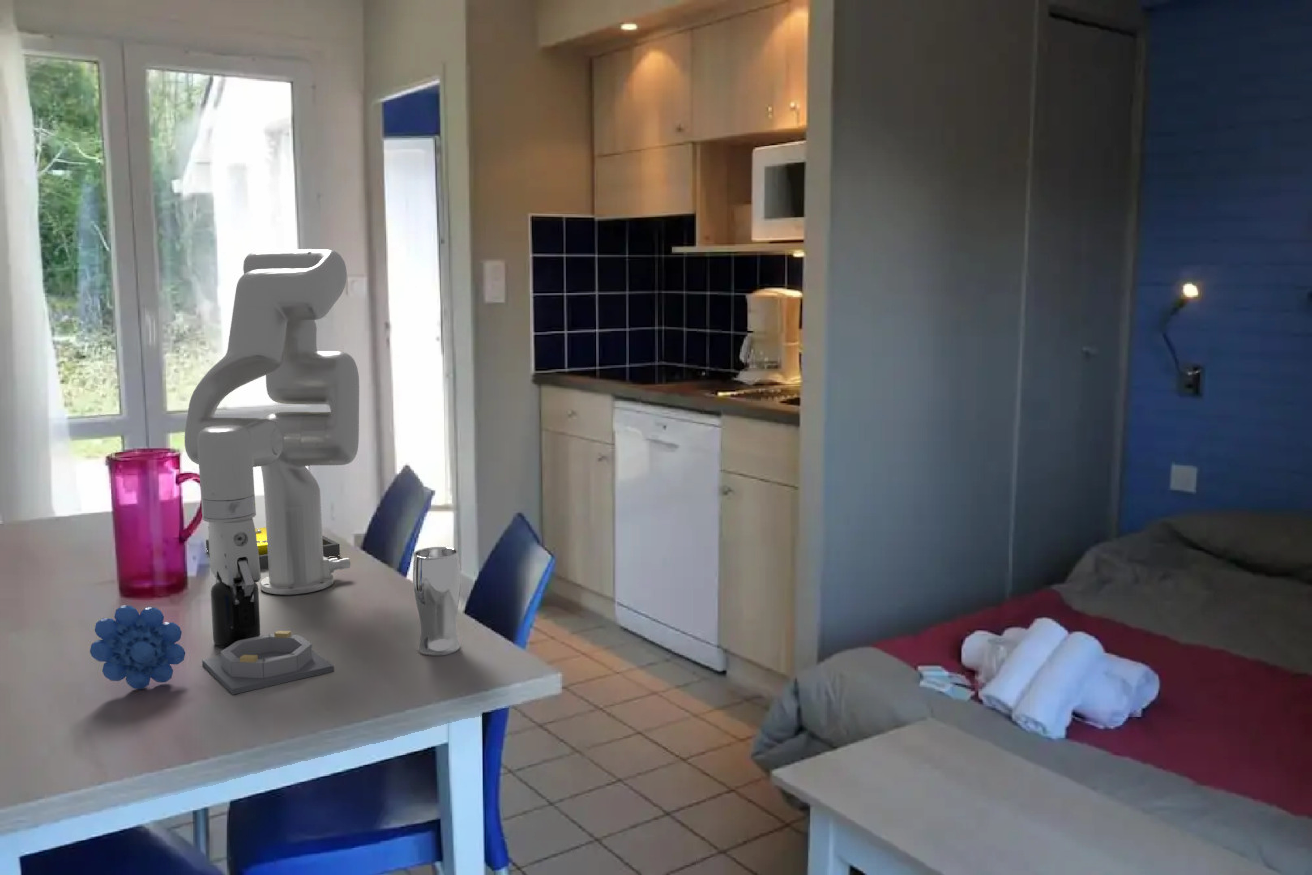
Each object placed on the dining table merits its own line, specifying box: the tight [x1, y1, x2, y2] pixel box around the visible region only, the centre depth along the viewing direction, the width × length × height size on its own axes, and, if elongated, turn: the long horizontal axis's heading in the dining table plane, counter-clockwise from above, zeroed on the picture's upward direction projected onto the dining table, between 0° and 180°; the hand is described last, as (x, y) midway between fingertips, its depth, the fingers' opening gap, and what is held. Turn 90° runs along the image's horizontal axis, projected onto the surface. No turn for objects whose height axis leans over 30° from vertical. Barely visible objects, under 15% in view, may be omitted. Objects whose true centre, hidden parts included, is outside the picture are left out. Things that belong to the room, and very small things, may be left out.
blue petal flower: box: [89, 604, 186, 690], centre depth 145 cm, size 12×7×12 cm, turn 125°
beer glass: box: [412, 546, 462, 657], centre depth 161 cm, size 7×7×15 cm
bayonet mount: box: [201, 630, 335, 696], centre depth 154 cm, size 14×14×4 cm
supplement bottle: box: [210, 571, 261, 648], centre depth 164 cm, size 7×7×12 cm
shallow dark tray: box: [205, 534, 341, 570], centre depth 216 cm, size 20×20×2 cm
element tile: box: [255, 526, 268, 555], centre depth 216 cm, size 15×15×5 cm
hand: (236, 620), depth 165 cm, fingers closed on supplement bottle, 6 cm apart
